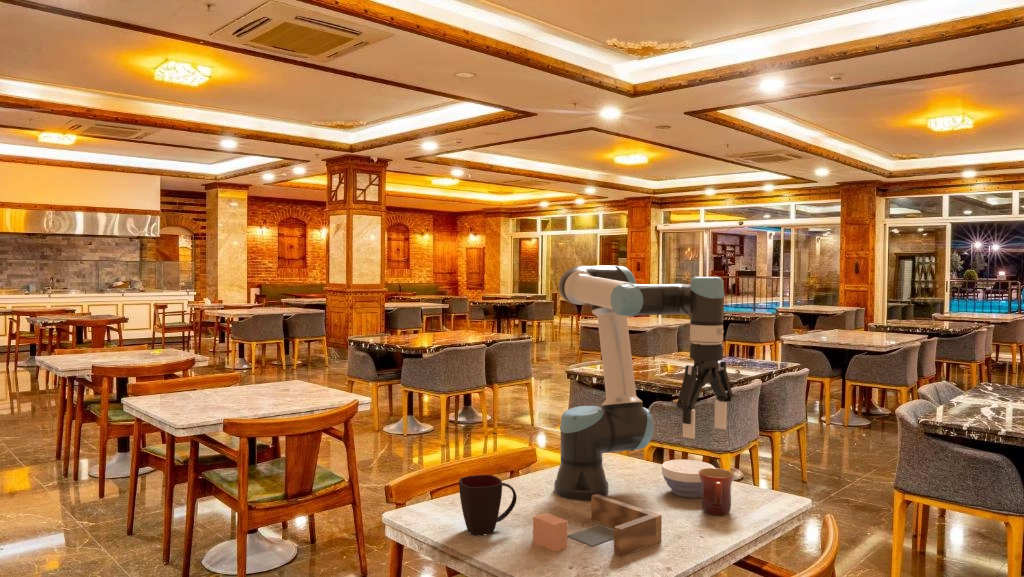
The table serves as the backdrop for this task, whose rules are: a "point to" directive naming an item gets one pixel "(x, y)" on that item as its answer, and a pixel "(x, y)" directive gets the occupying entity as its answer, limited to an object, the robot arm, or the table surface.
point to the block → (550, 532)
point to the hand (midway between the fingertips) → (705, 432)
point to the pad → (593, 535)
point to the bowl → (684, 476)
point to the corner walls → (627, 524)
